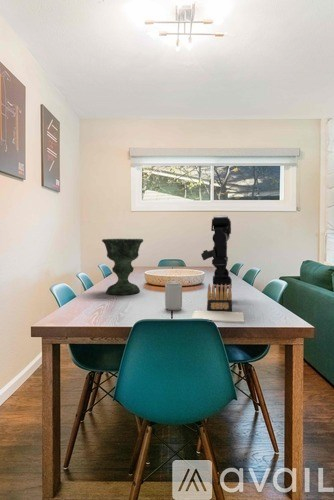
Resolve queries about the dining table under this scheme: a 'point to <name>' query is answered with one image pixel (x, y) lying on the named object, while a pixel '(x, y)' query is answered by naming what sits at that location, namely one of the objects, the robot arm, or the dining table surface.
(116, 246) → the goblet
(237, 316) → the mat
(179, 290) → the can
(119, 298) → the dining table surface
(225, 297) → the ammunition clip
